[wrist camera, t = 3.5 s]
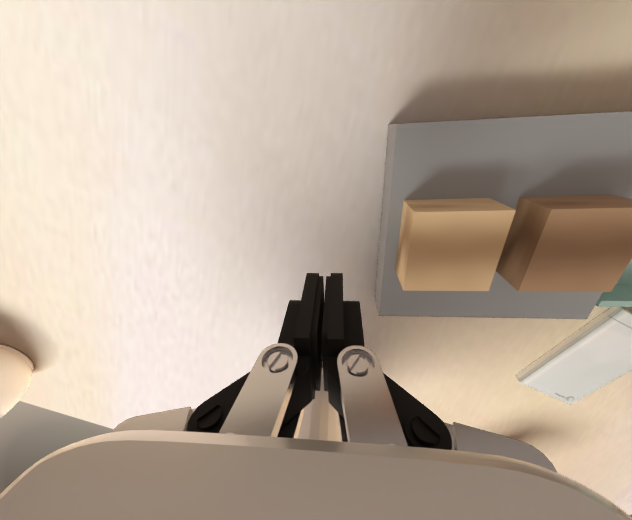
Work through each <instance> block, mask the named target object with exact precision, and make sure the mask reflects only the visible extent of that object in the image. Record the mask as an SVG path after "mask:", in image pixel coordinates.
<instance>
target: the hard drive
mask: <svg viewBox="0 0 632 520" xmlns="http://www.w3.org/2000/svg"><path fill="white" fill-rule="evenodd" d="M631 370H632V313H631V312H629V311H627V310H625V309H624V308H622V307H610V308H609V309H608V310H606V311H605V312H603V313H602V314H600V315H599V316H598V317H596V318H595V319H593V320H592V321H590V322H589V323H588V324H586V325H585V326H583V327H582V328H581V329H579V330H578V331H576V332H575V333H574V334H572V335H571V336H569V337H568V338H566V339H565V340H564V341H562V342H561V343H559V344H558V345H557V346H555V347H554V348H552V349H551V350H550V351H548V352H547V353H545V354H544V355H543V356H541V357H540V358H538V359H537V360H535V361H534V362H533V363H531V364H530V365H528V366H527V367H526V368H524V369H523V370H521V371H520V372H519V373H517V374H516V375H515V376H516V378H517V379H518V380H519V381H520V382H521V383H522V384H524V385H526V386H528V387H531V388H533V389H535V390H537V391H540V392H542V393H544V394H547V395H549V396H551V397H554V398H556V399H558V400H561V401H563V402H565V403H567V404H570V405H571V404H573V403H575V402H577V401H578V400H580V399H582V398H583V397H585V396H587V395H589V394H590V393H592V392H594V391H596V390H597V389H599V388H601V387H603V386H604V385H606V384H608V383H610V382H611V381H613V380H615V379H617V378H618V377H620V376H622V375H624V374H625V373H627V372H629V371H631Z"/></svg>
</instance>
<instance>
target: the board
mask: <svg viewBox="0 0 632 520" xmlns="http://www.w3.org/2000/svg"><path fill="white" fill-rule="evenodd" d="M584 195H616V196H620V197H624V198H629V199H632V111H625V112H606V113H588V114H569V115H551V116H532V117H513V118H495V119H476V120H457V121H439V122H420V123H401V124H389V125H388V138H387V150H386V163H385V175H384V188H383V201H382V213H381V226H380V239H379V251H378V264H377V277H376V289H375V299H376V304H377V309H378V313H379V316H432V317H492V318H552V319H587V318H588V316H589V314H590V313H591V311H592V309H593V308H594V306H595V304H596V303H597V301H598V299H599V298H600V296H601V294H602V293H603V292H535V291H517V290H516V289H515V288H514V287H513V286H512V285H511V284H510V283H508V282H507V281H506V280H505V279H504V278H503V277H502V276H501V275H500V274H498V273H497V272H496V271H495V274H494V277H493V280H492V283H491V285H490V288H489V291H403V289H402V286H401V284H400V281H399V279H398V276H397V274H396V271H395V267H396V259H397V251H398V242H399V234H400V225H401V217H402V209H403V200H428V199H467V198H491V199H493V200H495V201H497V202H500V203H502V204H504V205H506V206H508V207H510V208H513V209H516V206H517V203H518V200H519V197H545V196H584Z"/></svg>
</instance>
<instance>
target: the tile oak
mask: <svg viewBox="0 0 632 520" xmlns="http://www.w3.org/2000/svg"><path fill="white" fill-rule="evenodd" d="M515 212H516V210H515V209H513V208H510V207H508V206H506V205H504V204H502V203H500V202H497V201H495V200H493V199H491V198H467V199H428V200H403V209H402V217H401V225H400V234H399V242H398V251H397V259H396V267H395V271H396V274H397V276H398V279H399V281H400V284H401V286H402V289H403V291H489V288H490V285H491V283H492V280H493V277H494V274H495V271H496V268H497V265H498V262H499V259H500V256H501V253H502V250H503V247H504V244H505V241H506V238H507V235H508V232H509V229H510V226H511V223H512V221H513V218H514V215H515Z"/></svg>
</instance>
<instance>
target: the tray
mask: <svg viewBox="0 0 632 520" xmlns="http://www.w3.org/2000/svg"><path fill="white" fill-rule="evenodd" d="M595 305H597V306H598V307H632V259H631V260H630V262H629V264H628V265H627V267H626V269H625V270H624V272H623V273H622V275H621V277H620V278H619V280H618V281H617V283H616V285H615V286H614V288H613V289H612V291H611V292H603V293H602V294H601V296H600V298H599V299H598V301H597V303H596V304H595Z"/></svg>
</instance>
